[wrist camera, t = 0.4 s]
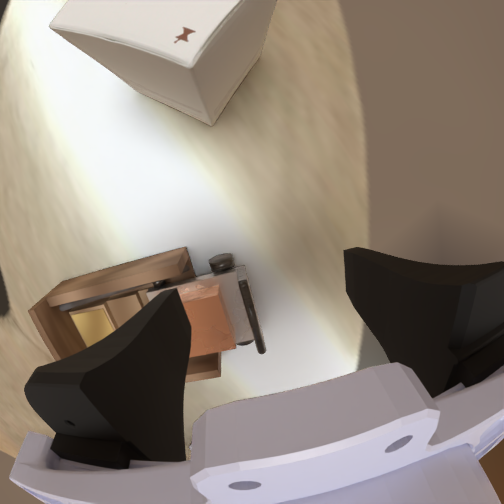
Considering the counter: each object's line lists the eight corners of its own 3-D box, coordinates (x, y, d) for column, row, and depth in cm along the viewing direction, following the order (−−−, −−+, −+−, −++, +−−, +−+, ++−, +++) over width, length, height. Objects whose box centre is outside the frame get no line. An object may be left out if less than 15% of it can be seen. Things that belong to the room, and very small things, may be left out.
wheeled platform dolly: (241, 249, 21) (244, 271, 17) (262, 328, 24) (269, 361, 19) (150, 272, 21) (133, 298, 17) (180, 346, 24) (173, 380, 19)
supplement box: (263, 54, 17) (302, -48, 5) (212, 129, 19) (188, 74, 7) (184, 20, 15) (153, -82, 3) (132, 90, 17) (41, 28, 5)
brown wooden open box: (186, 246, 21) (171, 275, 15) (221, 347, 24) (220, 393, 19) (62, 281, 21) (27, 311, 15) (105, 365, 24) (86, 404, 18)
